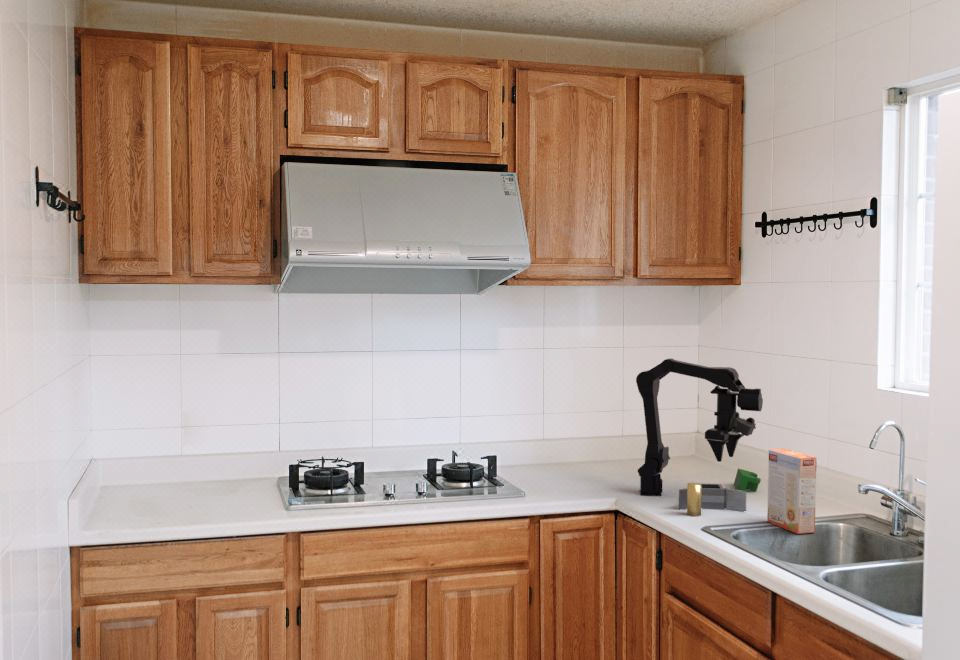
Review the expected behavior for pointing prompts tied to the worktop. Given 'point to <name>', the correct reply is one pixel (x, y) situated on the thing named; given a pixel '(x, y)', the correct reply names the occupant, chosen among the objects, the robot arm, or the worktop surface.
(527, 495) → the worktop surface
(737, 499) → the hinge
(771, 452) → the cracker box
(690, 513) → the pin
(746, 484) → the clamp
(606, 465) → the worktop surface
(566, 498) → the worktop surface
